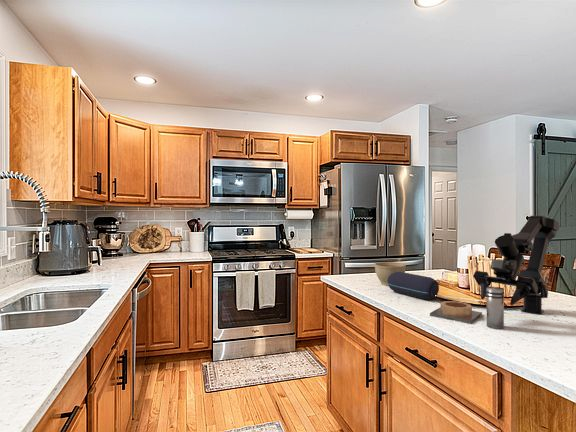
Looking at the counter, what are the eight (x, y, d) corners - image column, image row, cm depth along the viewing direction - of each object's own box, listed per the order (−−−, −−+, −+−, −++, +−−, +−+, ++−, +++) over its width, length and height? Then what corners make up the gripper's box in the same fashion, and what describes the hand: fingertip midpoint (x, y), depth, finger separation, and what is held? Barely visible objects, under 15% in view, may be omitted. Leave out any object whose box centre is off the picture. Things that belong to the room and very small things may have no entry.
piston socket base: (443, 308, 140) (443, 298, 139) (482, 314, 130) (482, 304, 130) (429, 315, 129) (429, 305, 129) (470, 323, 120) (470, 312, 120)
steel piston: (488, 323, 120) (488, 285, 120) (505, 326, 116) (505, 288, 116) (484, 327, 116) (484, 288, 116) (502, 330, 113) (502, 290, 113)
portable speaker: (443, 300, 152) (443, 277, 152) (428, 303, 147) (428, 279, 147) (399, 289, 174) (399, 269, 174) (385, 291, 169) (384, 271, 169)
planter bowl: (368, 282, 192) (368, 262, 192) (394, 280, 197) (394, 261, 197) (385, 288, 177) (385, 267, 177) (412, 286, 181) (412, 265, 181)
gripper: (475, 248, 127) (459, 282, 121) (534, 253, 112) (520, 291, 106) (486, 268, 132) (471, 301, 126) (544, 275, 117) (530, 313, 110)
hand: (496, 301), depth 117 cm, fingers open, 9 cm apart
